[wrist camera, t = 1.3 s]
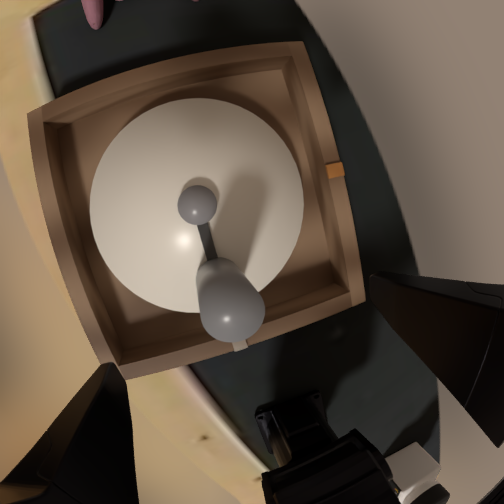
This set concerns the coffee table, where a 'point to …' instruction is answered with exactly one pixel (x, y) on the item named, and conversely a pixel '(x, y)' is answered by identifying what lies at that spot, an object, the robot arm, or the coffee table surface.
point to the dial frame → (144, 99)
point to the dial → (198, 211)
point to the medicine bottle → (416, 476)
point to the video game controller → (96, 12)
